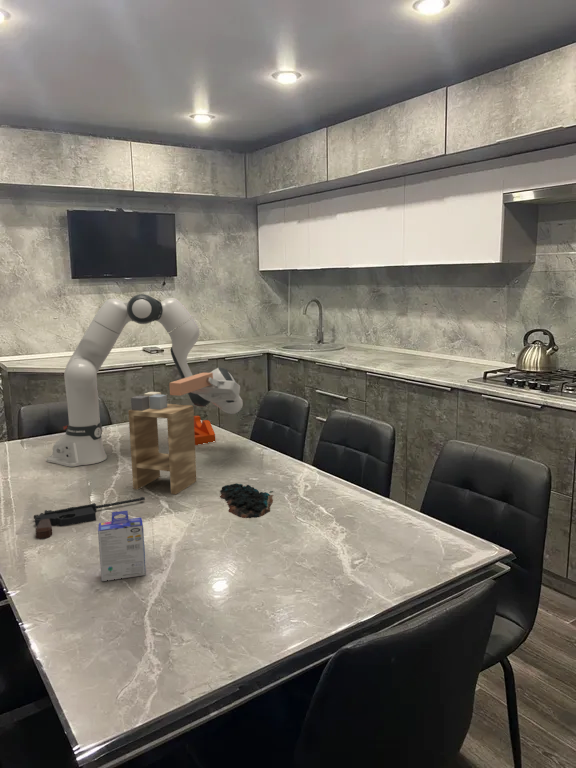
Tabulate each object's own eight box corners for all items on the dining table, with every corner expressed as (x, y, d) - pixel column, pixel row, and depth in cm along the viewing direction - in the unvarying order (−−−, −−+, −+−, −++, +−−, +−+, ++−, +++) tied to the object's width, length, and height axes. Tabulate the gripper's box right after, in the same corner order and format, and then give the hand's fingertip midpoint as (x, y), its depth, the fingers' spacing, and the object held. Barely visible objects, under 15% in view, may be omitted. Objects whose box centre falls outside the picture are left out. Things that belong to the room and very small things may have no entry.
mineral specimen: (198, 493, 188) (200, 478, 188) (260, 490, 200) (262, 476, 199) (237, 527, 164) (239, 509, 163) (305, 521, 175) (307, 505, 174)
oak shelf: (133, 488, 192) (128, 410, 188) (155, 476, 204) (151, 402, 200) (175, 494, 187) (171, 413, 182) (196, 481, 199) (193, 405, 194)
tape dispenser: (171, 438, 256) (170, 419, 255) (198, 433, 263) (197, 415, 261) (186, 447, 241) (186, 427, 240) (215, 442, 248) (214, 423, 246)
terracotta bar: (169, 394, 192) (169, 382, 191) (203, 383, 212) (202, 372, 211) (180, 395, 190) (180, 383, 190) (213, 384, 210) (212, 372, 210)
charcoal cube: (131, 410, 189) (130, 397, 188) (139, 407, 192) (138, 395, 192) (142, 410, 187) (141, 398, 187) (149, 408, 191) (148, 396, 190)
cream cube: (144, 405, 195) (143, 393, 194) (151, 403, 199) (150, 391, 198) (154, 406, 194) (154, 394, 193) (161, 404, 197) (160, 392, 197)
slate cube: (149, 408, 190) (149, 396, 190) (156, 406, 194) (156, 394, 193) (160, 409, 189) (159, 397, 188) (167, 407, 193) (166, 394, 192)
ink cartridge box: (145, 565, 140) (141, 506, 138) (146, 575, 135) (143, 515, 133) (101, 571, 138) (97, 512, 135) (101, 582, 132) (96, 521, 130)
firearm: (156, 518, 169) (143, 501, 182) (155, 508, 169) (142, 492, 182) (37, 541, 155) (32, 521, 168) (36, 531, 155) (31, 511, 168)
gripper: (195, 383, 223) (177, 369, 211) (244, 385, 216) (229, 371, 204) (191, 399, 221) (173, 386, 209) (241, 402, 214) (225, 389, 202)
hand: (201, 379), depth 206 cm, fingers closed on terracotta bar, 4 cm apart
